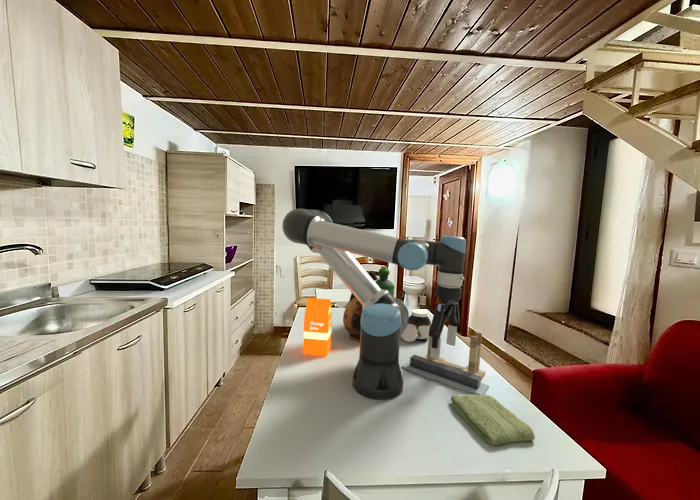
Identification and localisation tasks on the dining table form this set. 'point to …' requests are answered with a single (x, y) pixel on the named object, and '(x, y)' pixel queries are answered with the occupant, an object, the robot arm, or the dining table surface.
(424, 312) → the spread jar
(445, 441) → the dining table surface
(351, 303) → the ceramic jug
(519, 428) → the washcloth
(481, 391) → the slate mat
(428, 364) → the steel bar
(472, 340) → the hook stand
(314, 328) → the orange juice
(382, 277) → the bottle
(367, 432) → the dining table surface
